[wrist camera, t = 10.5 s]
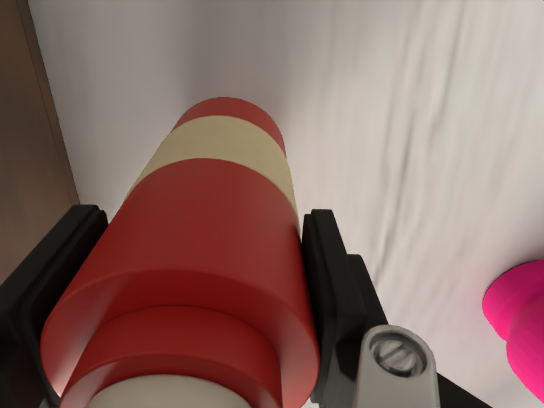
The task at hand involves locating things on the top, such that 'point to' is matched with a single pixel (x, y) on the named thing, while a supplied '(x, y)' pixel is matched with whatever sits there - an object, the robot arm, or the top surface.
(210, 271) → the ketchup bottle
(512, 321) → the pepper mill
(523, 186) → the top surface
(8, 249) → the bread box
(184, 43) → the top surface
